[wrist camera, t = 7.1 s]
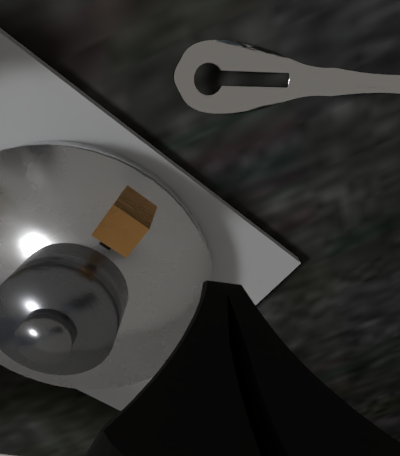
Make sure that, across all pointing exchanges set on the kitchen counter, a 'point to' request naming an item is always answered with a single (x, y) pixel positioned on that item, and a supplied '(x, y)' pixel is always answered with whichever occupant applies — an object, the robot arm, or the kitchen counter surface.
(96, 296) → the cover
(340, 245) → the kitchen counter surface
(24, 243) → the turntable
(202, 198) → the base plate
